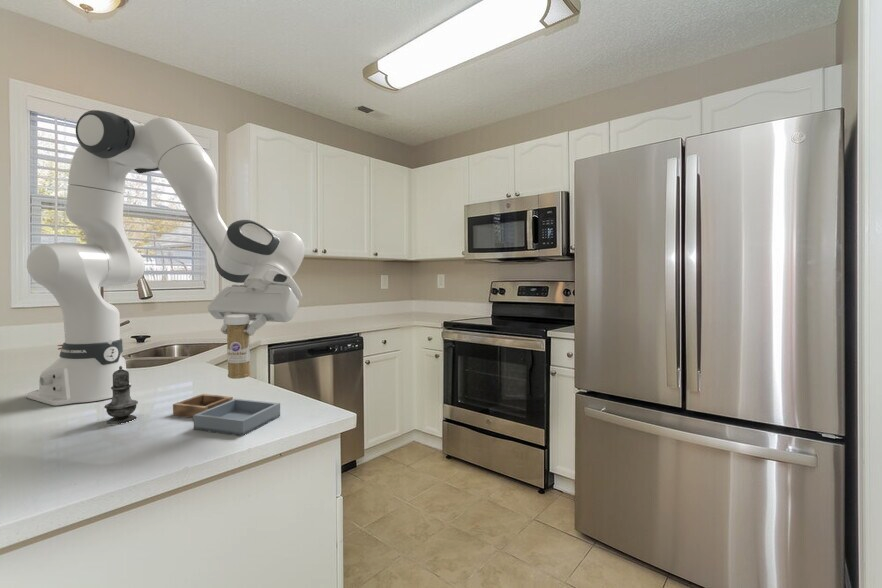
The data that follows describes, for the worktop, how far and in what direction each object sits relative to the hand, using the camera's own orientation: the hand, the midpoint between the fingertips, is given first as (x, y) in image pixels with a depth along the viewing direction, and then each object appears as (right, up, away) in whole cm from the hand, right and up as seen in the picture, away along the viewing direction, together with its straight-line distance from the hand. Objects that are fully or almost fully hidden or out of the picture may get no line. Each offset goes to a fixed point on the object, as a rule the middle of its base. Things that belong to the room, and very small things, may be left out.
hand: (236, 333), depth 90 cm
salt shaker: (-26, -19, +2) cm, 32 cm away
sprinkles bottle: (0, -10, +1) cm, 10 cm away
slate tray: (0, -20, +2) cm, 20 cm away
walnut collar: (-12, -19, +9) cm, 24 cm away
